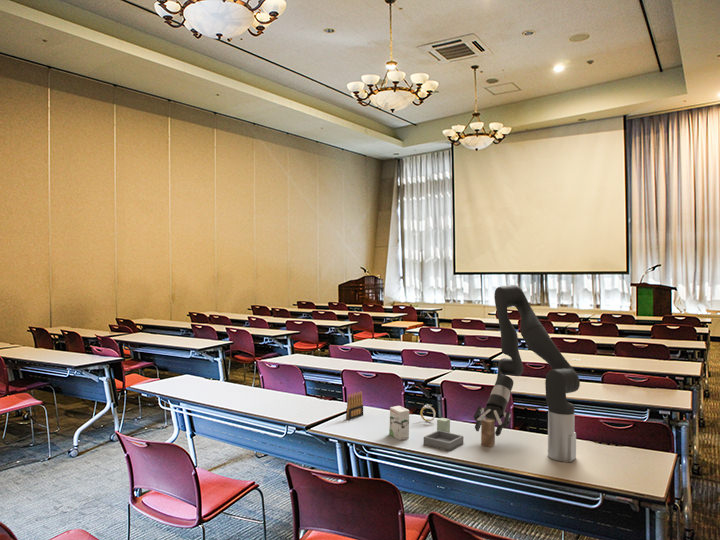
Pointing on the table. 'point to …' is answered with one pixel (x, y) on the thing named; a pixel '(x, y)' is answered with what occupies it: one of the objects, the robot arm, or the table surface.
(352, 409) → the ammunition clip
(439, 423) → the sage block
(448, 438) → the desk tray
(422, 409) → the ring
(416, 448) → the table surface
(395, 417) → the ink box
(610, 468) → the table surface
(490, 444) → the walnut block
